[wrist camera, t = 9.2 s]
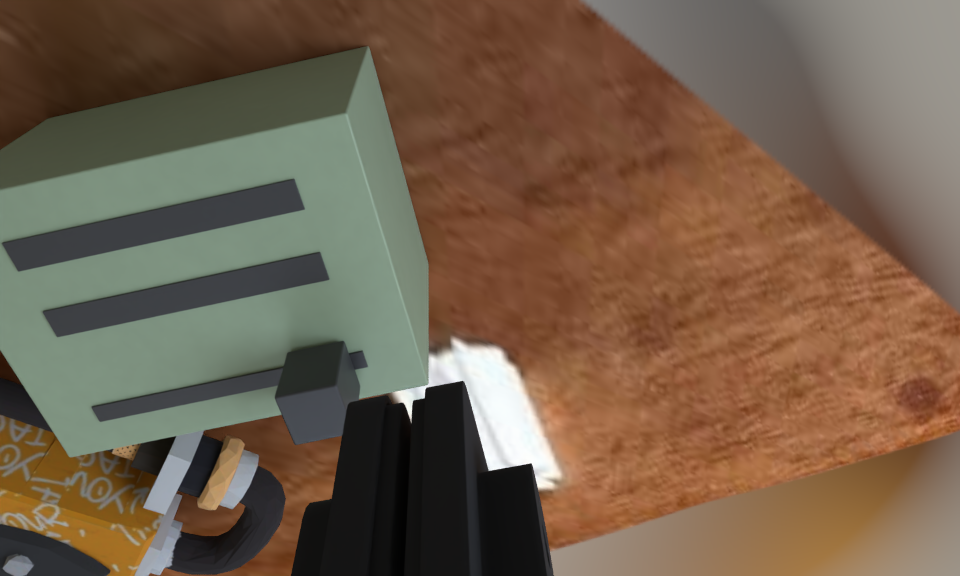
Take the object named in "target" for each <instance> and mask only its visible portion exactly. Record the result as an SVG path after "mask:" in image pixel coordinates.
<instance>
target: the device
mask: <svg viewBox="0 0 960 576" xmlns="http://www.w3.org/2000/svg"><path fill="white" fill-rule="evenodd" d="M203 432H204V430H203V431H198V432H193V433H188V434H184V435H179V436H174V437H169V438H164V439H159V440H154V441H149V442H144V443H139V444H134V445H129V446H124V447H120V448H115V449H110V450H105V451H100V452H95V453H90V454H85V455H80V456H75V457H69V456H68V454H67V453H66V451H65V450H64V448H63V447H62V445H61V444H60V442H59V440H58V439H57V437H56V436H55V434H54V433H53V431H52V430H51V428H50V427H49V425H48V423H47V422H46V420H45V419H44V417H43V416H42V414H41V413H40V411H39V410H38V408H37V406H36V405H35V403H34V402H33V400H32V399H31V397H30V396H29V394H28V392H27V391H26V389H25V388H24V386H23V385H20V384H17V383H14V382H12V381H9V380H6V379H3V378H0V576H148V575H149V573H153V574H156V575H160V574H161V572H162V571H163V569H164V567H165V568H168V569H171V570H174V571H178V572H182V573H187V574H220V573H224V572H228V571H232V570H234V569H237V568H239V567H241V566H242V565H244V564H245V563H247V562H248V561H249V560H251V559H252V558H254V557H255V556H256V555H257V554H258V553H259V552H260V551H261V550H262V549H263V548H264V547H265V546H266V545H267V543H268V542H269V540H270V539H271V537H272V536H273V534H274V533H275V531H276V530H277V528H278V527H279V525H280V522H281V520H282V516H283V510H284V505H285V499H286V498H285V495H284V491H283V487H282V485H281V484H280V483H279V481H278V480H277V479H276V478H275V477H274V476H273V474H272V473H271V472H269V471H267V470H265V469H264V468H262V467H260V466H258V458H259V455H257V454H254V453H252V452H249V451H246V450H244V449H243V448H244V445H245V444H244V443H243V442H242V440H241V439H239V438H236V437H234V436H231V435H229V436H226V437H225V438H224V439H223V441H222V442H221V441H218V440H216V439H213V438H210V437H207V436H204V435H203ZM177 490H178V491H181V492H184V493H187V494H189V495H192V496H195V497H198V498H197V503H198V506H199V508H203V509H206V510H216V509H217V507H218V506H219V505H221V506H224V507H227V508H230V509H233V508H234V507H235V506H236V505H237V504H238V502H240V503H242V504H244V505H245V506H246V507H245V509H244V512H243V514H242V515H241V517H240V518H239V520H238V521H237V523H236V524H235V525H234V526H233V527H232V528H231V529H230V530H229V531H228V532H226V533H224V534H221V535H219V536H199V535H194V534H189V533H184V532H181V531H180V530H181V527H182V525H183V523H181V522H179V521H176V520H173V519H174V516H175V514H176V511H177V509H178V506H179V503H180V501H181V498H182V495H179V494H176V492H177Z"/></svg>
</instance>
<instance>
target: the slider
mask: <svg viewBox="0 0 960 576" xmlns="http://www.w3.org/2000/svg"><path fill="white" fill-rule="evenodd" d="M359 394H360V383H359V380H358V378H357V375H356V372H355V369H354V366H353V364H352V361H351V358H350V355H349V352H348V350H347V347H346V344H345V342H344V341H340V342H335V343H330V344H325V345H320V346H316V347H311V348H306V349H301V350H296V351H291V352H288V353H287V356H286V359H285V363H284V366H283V370H282V373H281V376H280V380H279V383H278V387H277V390H276V394H275V400H276V403H277V405H278V407H279V410H280V412H281V414H282V417H283V419H284V421H285V423H286V426H287V428H288V430H289V433H290V435H291V437H292V439H293V442H294V444H295V445H298V444H303V443H308V442H313V441H318V440H323V439H328V438H333V437H338V436H342V434H343V428H344V422H345V416H346V410H347V406H348V404H349V403H350V402H353V401H359Z"/></svg>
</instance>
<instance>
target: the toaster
mask: <svg viewBox="0 0 960 576" xmlns="http://www.w3.org/2000/svg"><path fill="white" fill-rule="evenodd" d="M340 341H344V342H345V344H346V347H347V350H348V352H349V355H350V358H351V361H352V364H353V366H354V369H355V372H356V375H357V378H358V380H359V383H360V394H359V399H361V398H366V397H370V396H375V395H380V394H385V393H390V392H395V391H400V390H405V389H410V388H415V387H420V386H425V385H428V261H427V257H426V253H425V250H424V246H423V242H422V239H421V235H420V231H419V228H418V224H417V220H416V217H415V213H414V209H413V206H412V202H411V198H410V195H409V191H408V187H407V184H406V180H405V176H404V173H403V169H402V165H401V162H400V158H399V154H398V151H397V147H396V143H395V140H394V136H393V132H392V129H391V125H390V121H389V118H388V114H387V110H386V107H385V103H384V99H383V96H382V92H381V88H380V85H379V81H378V77H377V74H376V70H375V66H374V63H373V59H372V55H371V52H370V48H369V47H368V46H366V47H361V48H357V49H353V50H348V51H344V52H339V53H335V54H331V55H326V56H322V57H317V58H313V59H308V60H304V61H300V62H295V63H291V64H286V65H282V66H278V67H273V68H269V69H264V70H260V71H255V72H251V73H247V74H242V75H238V76H233V77H229V78H225V79H220V80H216V81H211V82H207V83H203V84H198V85H194V86H189V87H185V88H180V89H176V90H172V91H167V92H163V93H158V94H154V95H150V96H145V97H141V98H136V99H132V100H128V101H123V102H119V103H114V104H110V105H105V106H101V107H97V108H92V109H88V110H83V111H79V112H75V113H70V114H66V115H61V116H57V117H52V118H48V119H46V120H45V121H43V122H42V123H40V124H39V125H37V126H36V127H34V128H33V129H31V130H30V131H28V132H27V133H25V134H24V135H22V136H21V137H19V138H18V139H16V140H15V141H13V142H12V143H10V144H9V145H7V146H6V147H4V148H3V149H1V150H0V351H1V352H2V354H3V355H4V357H5V358H6V360H7V362H8V363H9V365H10V366H11V368H12V369H13V371H14V372H15V374H16V375H17V377H18V379H19V380H20V382H21V383H22V385H23V386H24V388H25V389H26V391H27V392H28V394H29V396H30V397H31V399H32V400H33V402H34V403H35V405H36V406H37V408H38V410H39V411H40V413H41V414H42V416H43V417H44V419H45V420H46V422H47V423H48V425H49V427H50V428H51V430H52V431H53V433H54V434H55V436H56V437H57V439H58V440H59V442H60V444H61V445H62V447H63V448H64V450H65V451H66V453H67V454H68V456H69V457H75V456H80V455H85V454H90V453H95V452H100V451H105V450H110V449H115V448H120V447H124V446H129V445H134V444H139V443H144V442H149V441H154V440H159V439H164V438H169V437H174V436H179V435H184V434H188V433H193V432H198V431H203V430H208V429H213V428H218V427H223V426H228V425H233V424H238V423H243V422H247V421H252V420H257V419H262V418H267V417H272V416H277V415H282V414H281V412H280V410H279V407H278V405H277V403H276V400H275V394H276V390H277V387H278V383H279V380H280V376H281V373H282V370H283V366H284V363H285V359H286V356H287V353H288V352H291V351H296V350H301V349H306V348H311V347H316V346H320V345H325V344H330V343H335V342H340Z"/></svg>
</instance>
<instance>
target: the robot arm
mask: <svg viewBox="0 0 960 576" xmlns="http://www.w3.org/2000/svg"><path fill="white" fill-rule="evenodd" d="M291 576H554V575H553V568H552V563H551V556H550V550H549V544H548V538H547V532H546V527H545V522H544V516H543V511H542V506H541V502H540V497H539V492H538V488H537V483H536V479H535V475H534V470H533V466H532V464H526V465H520V466H515V467H509V468H503V469H498V470H492V471H488V467H487V463H486V459H485V456H484V452H483V448H482V444H481V441H480V437H479V433H478V429H477V426H476V422H475V418H474V414H473V411H472V407H471V403H470V399H469V396H468V392H467V388H466V385H465V383H464V381H460V382H455V383H450V384H444V385H439V386H434V387H428V388H426V390H425V398H424V399H419V400H414V401H413V405H412V424H411V422H410V419H409V415H408V412H407V409H406V407H405V405H404V403H397V404H392V403H391V400H390V398H389V397H388V396H386V395H385V396H380V397H375V398H369V399H364V400H359V401H353V402H350V403H349V404H348V406H347V410H346V416H345V422H344V428H343V434H342V440H341V446H340V452H339V458H338V464H337V470H336V476H335V482H334V489H333V495H332V499H330V500H324V501H319V502H313V503H309V505H308V506H307V507H306V509H305V512H304V516H303V519H302V524H301V529H300V534H299V539H298V544H297V549H296V554H295V559H294V564H293V568H292V573H291Z"/></svg>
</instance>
